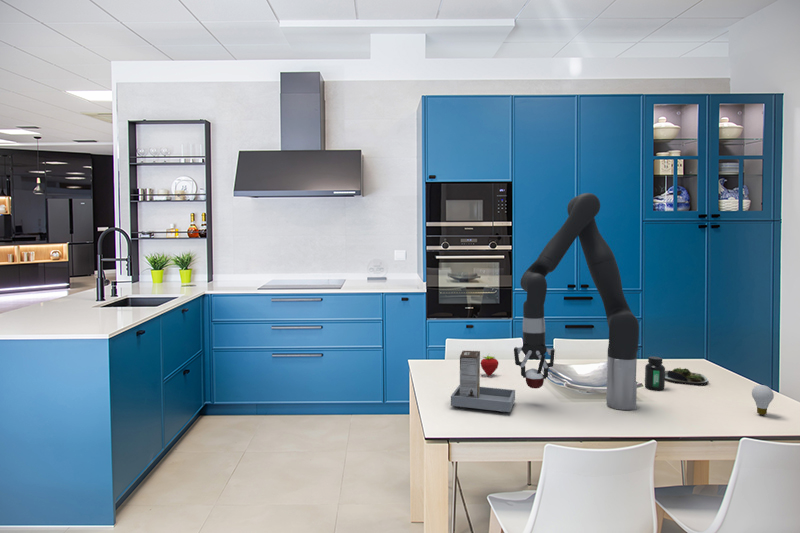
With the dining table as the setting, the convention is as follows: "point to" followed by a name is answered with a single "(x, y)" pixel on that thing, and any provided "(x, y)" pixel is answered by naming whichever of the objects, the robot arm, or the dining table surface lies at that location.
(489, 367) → the strawberry
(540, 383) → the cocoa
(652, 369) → the supplement bottle
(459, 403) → the tray
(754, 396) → the light bulb
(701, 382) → the salad plate
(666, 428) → the dining table surface
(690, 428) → the dining table surface
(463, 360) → the coffee box
